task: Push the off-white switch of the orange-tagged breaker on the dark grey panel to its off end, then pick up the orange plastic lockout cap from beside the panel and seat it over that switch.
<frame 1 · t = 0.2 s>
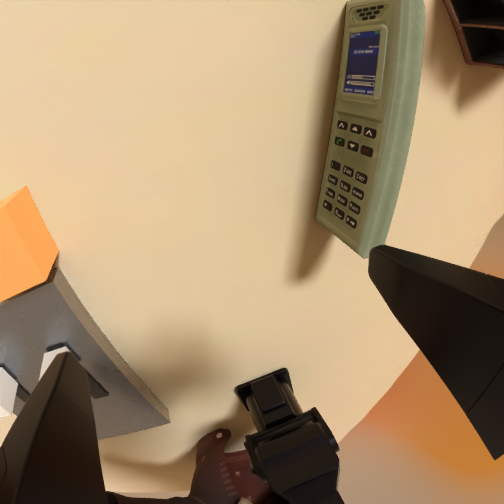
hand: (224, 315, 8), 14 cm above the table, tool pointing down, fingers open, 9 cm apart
lockout cap: (15, 233, 17), on the table
letter holder: (483, 13, 19), on the table
breaker panel: (53, 377, 25), on the table
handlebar: (224, 444, 41), on the table
handheld radio: (348, 77, 20), on the table
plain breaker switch: (60, 376, 20), point 4 cm above the table, slide at 0.0 cm
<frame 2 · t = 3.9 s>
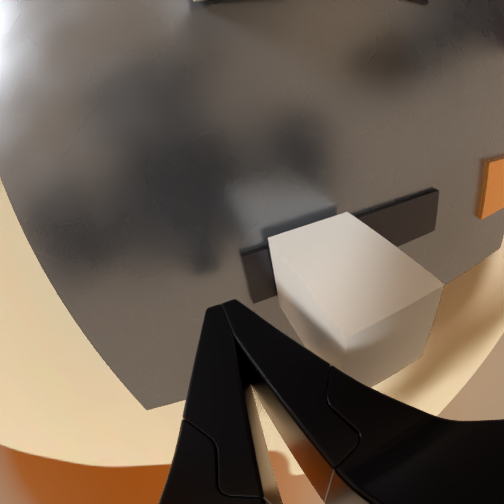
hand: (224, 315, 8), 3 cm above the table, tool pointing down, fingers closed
breaker panel: (353, 107, 10), on the table
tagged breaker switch: (347, 298, 8), point 4 cm above the table, slide at 0.6 cm, touching gripper
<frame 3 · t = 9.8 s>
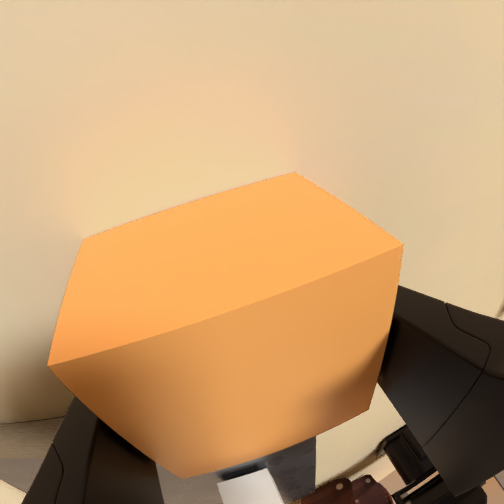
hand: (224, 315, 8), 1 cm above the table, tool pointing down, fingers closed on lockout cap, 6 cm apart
lockout cap: (215, 291, 9), on the table, touching gripper
breaker panel: (178, 482, 16), on the table
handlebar: (324, 489, 32), on the table
when the fingers open (5 cm above the table, at t = 14.4 s): lockout cap drops 1 cm, resting on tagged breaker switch.
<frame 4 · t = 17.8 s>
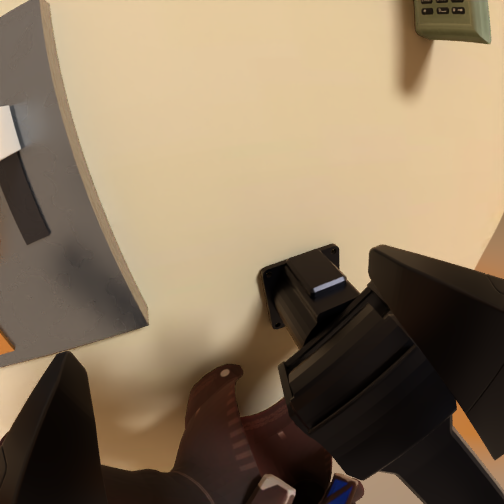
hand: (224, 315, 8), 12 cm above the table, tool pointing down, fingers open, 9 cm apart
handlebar: (228, 400, 30), on the table
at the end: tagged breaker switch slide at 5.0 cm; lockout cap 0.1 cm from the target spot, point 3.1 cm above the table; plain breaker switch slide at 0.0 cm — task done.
